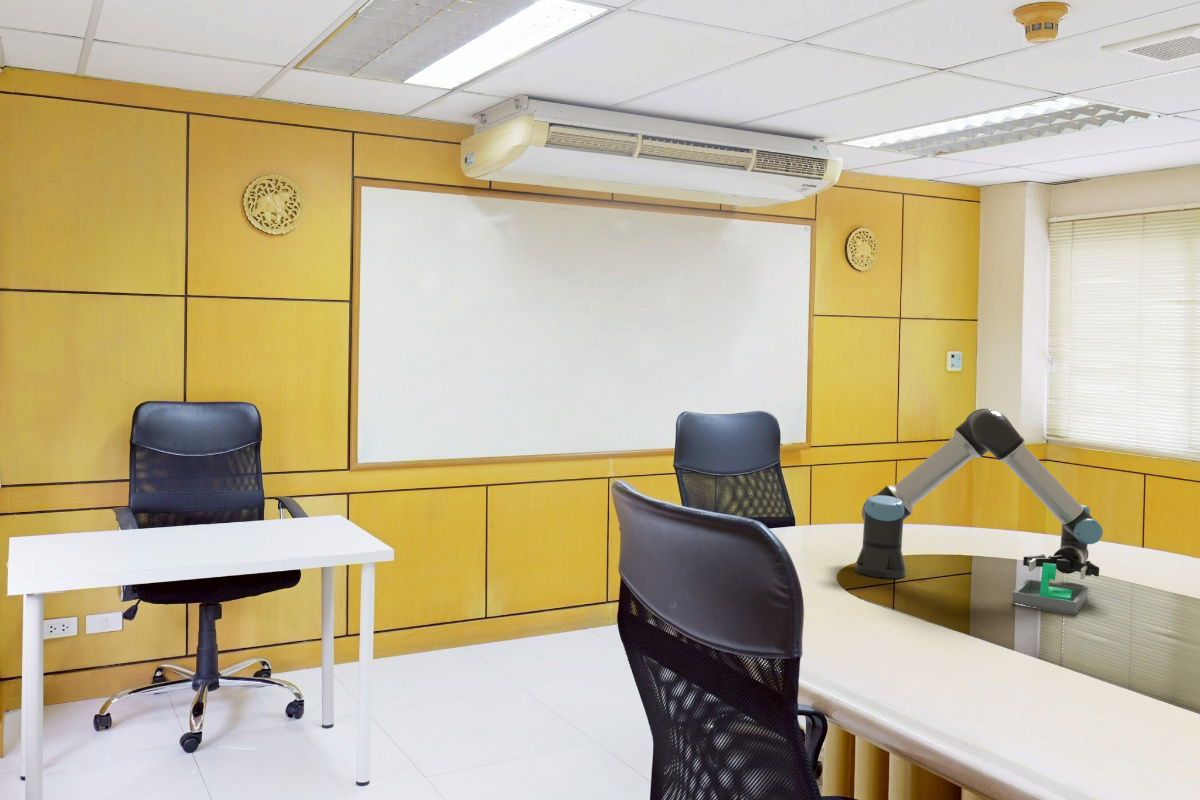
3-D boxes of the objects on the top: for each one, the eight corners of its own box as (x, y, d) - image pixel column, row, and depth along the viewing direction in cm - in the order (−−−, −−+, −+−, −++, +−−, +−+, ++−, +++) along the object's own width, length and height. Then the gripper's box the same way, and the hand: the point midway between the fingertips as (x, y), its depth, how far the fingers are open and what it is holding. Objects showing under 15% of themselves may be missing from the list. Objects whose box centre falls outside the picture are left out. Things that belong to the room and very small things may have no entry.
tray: (1012, 604, 275) (1012, 592, 275) (1027, 590, 293) (1027, 579, 293) (1075, 615, 266) (1076, 602, 266) (1086, 600, 285) (1087, 588, 285)
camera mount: (1069, 607, 271) (1072, 570, 270) (1039, 603, 274) (1041, 566, 274) (1071, 598, 281) (1074, 562, 281) (1042, 594, 285) (1044, 559, 284)
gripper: (1113, 578, 293) (1103, 591, 275) (1023, 565, 307) (1008, 576, 289) (1115, 553, 293) (1105, 564, 275) (1024, 541, 307) (1010, 550, 289)
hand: (1055, 570), depth 282 cm, fingers open, 13 cm apart
